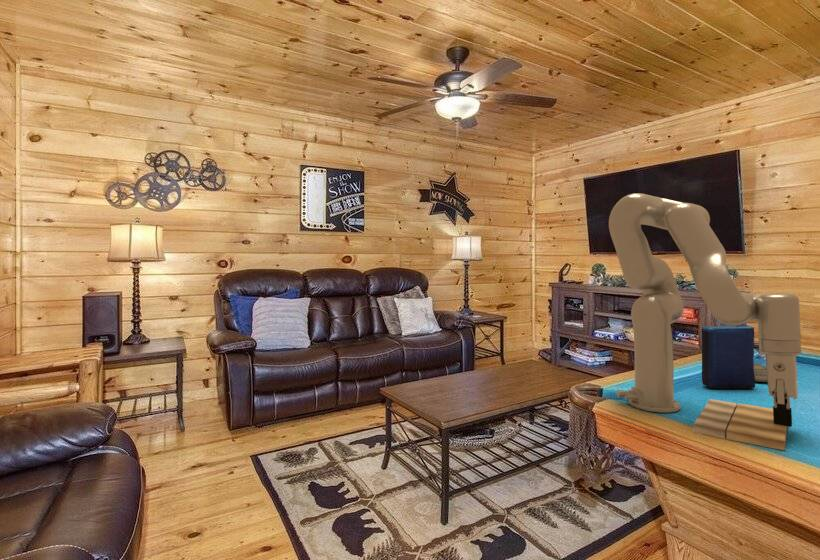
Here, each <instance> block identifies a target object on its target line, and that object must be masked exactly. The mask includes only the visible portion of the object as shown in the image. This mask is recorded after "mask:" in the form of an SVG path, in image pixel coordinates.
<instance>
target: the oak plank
mask: <svg viewBox="0 0 820 560" xmlns="http://www.w3.org/2000/svg"><path fill="white" fill-rule="evenodd" d="M787 432H788V427H787V426H784V425H779V424H774V419H773V407H772V408H770V407H764V406H758V405H751V404H743V403H737V408H736V410H735V412H734V414H733V417H732V419H731V421H730V423H729V426H728V428H727V430H726V437H725V438H726V440H728V441H729V440H730V441H736V442H741V443H745V444H750V445H756V446H761V447H766V448H770V449H775V450H780V451H783V452H785V450H786V443H787V440H786V439H787Z"/></svg>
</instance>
